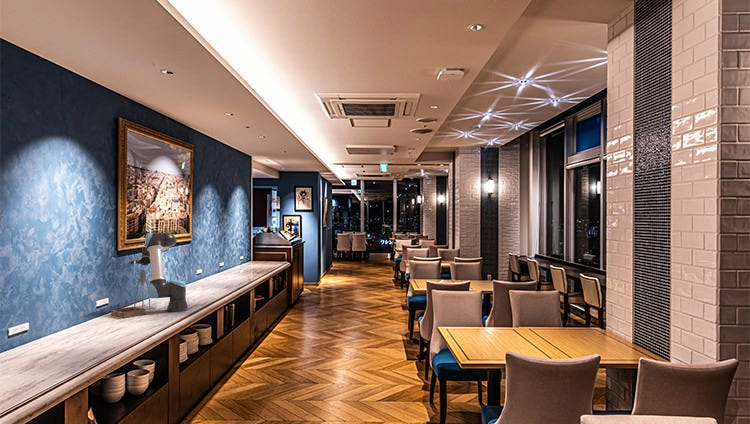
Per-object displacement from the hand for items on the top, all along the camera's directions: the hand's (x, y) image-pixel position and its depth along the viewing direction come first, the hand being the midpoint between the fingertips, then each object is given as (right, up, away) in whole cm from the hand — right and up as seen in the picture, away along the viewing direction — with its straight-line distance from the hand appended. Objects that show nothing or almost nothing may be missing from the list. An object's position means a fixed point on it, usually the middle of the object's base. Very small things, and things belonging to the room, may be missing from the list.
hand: (143, 263), depth 381 cm
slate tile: (+2, -35, -9) cm, 36 cm away
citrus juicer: (+2, -34, -9) cm, 35 cm away
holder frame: (+4, -35, -31) cm, 47 cm away
